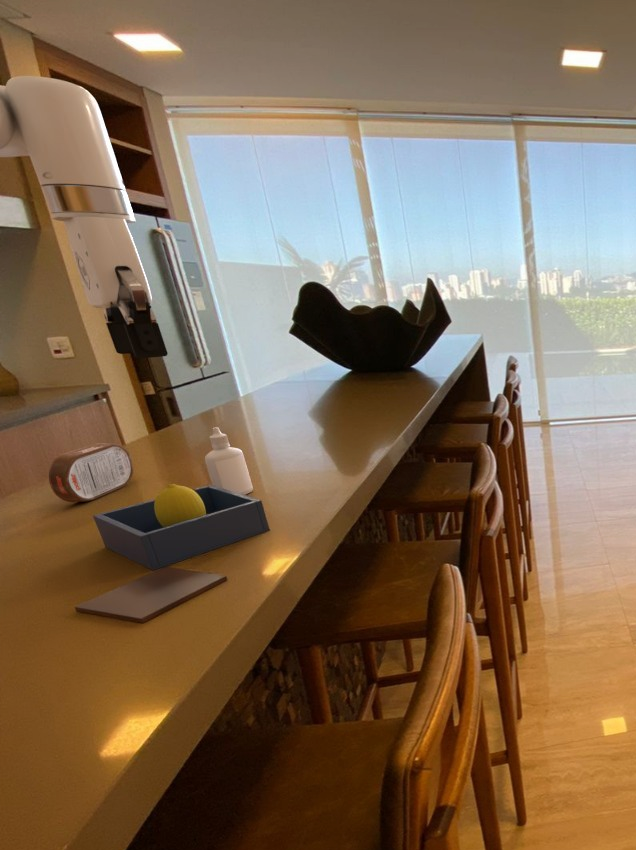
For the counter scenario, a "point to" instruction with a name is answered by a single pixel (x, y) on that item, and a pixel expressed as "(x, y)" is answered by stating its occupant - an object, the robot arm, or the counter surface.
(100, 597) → the coaster
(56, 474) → the tin
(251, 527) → the tote
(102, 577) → the counter surface
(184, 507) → the lemon
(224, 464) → the eye dropper bottle
